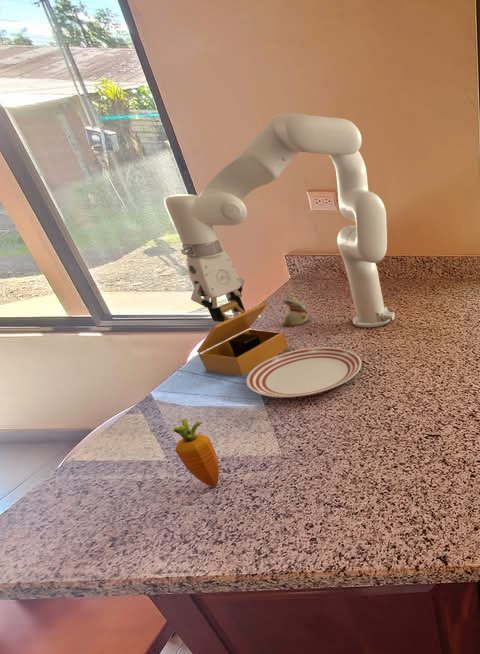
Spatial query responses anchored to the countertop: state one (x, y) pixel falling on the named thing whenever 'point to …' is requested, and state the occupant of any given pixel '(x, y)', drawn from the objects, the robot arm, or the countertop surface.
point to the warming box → (224, 358)
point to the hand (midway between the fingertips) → (229, 315)
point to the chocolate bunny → (294, 312)
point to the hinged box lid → (231, 324)
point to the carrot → (197, 454)
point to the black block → (244, 343)
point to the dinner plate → (303, 372)
